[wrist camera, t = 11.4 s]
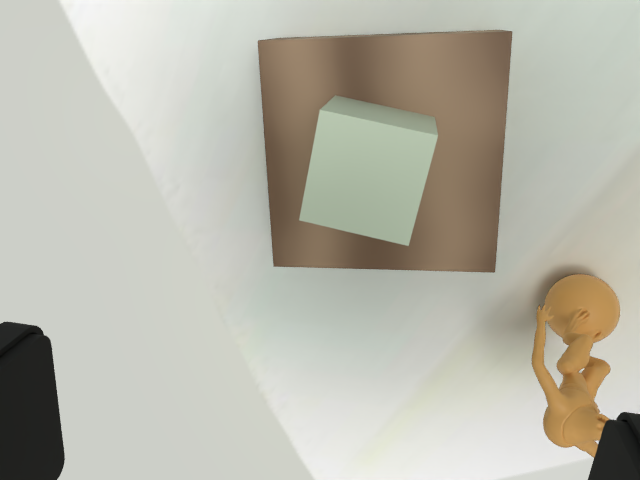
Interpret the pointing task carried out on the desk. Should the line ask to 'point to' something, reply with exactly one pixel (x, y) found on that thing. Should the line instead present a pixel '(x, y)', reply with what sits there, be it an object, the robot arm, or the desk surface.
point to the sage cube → (368, 169)
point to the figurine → (575, 358)
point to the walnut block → (405, 94)
